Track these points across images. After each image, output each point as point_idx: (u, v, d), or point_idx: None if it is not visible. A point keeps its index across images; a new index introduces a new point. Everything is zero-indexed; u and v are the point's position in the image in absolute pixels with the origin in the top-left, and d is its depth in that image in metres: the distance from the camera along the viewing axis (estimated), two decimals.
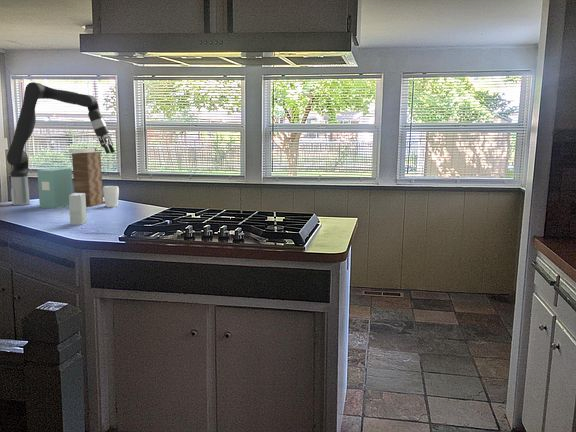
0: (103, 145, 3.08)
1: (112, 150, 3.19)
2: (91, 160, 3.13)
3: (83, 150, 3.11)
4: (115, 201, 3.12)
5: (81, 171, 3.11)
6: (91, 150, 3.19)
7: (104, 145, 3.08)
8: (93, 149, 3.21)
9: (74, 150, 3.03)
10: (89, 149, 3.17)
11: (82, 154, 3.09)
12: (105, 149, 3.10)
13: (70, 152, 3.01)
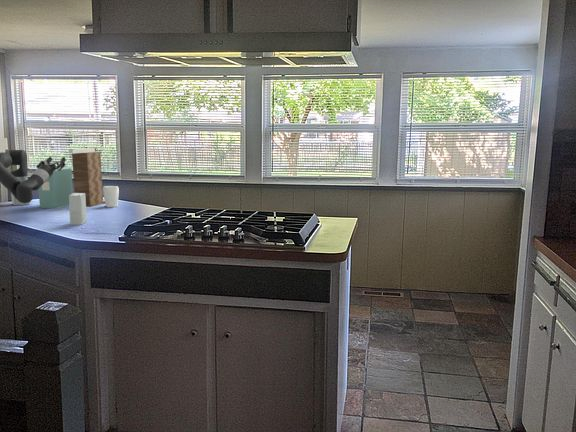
0: (64, 163, 2.85)
1: (50, 159, 2.90)
2: (91, 160, 3.13)
3: (83, 150, 3.11)
4: (115, 201, 3.12)
5: (81, 171, 3.11)
6: (91, 150, 3.19)
7: None
8: (93, 149, 3.21)
9: (74, 150, 3.03)
10: (89, 149, 3.17)
11: (82, 154, 3.09)
12: (64, 161, 2.88)
13: (70, 152, 3.01)
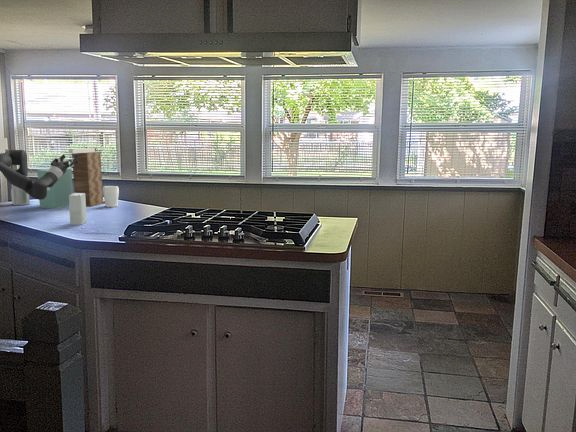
0: None
1: (63, 156, 3.00)
2: (91, 160, 3.13)
3: (83, 150, 3.11)
4: (115, 201, 3.12)
5: (81, 171, 3.11)
6: (91, 150, 3.19)
7: None
8: (93, 149, 3.21)
9: (74, 150, 3.03)
10: (89, 149, 3.17)
11: (82, 154, 3.09)
12: None
13: (70, 152, 3.01)
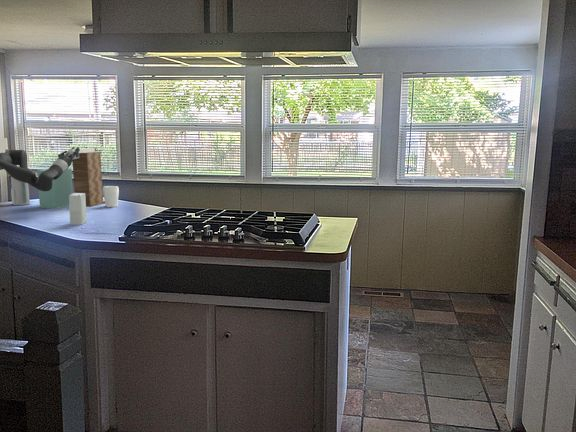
0: (78, 153, 3.02)
1: None
2: (91, 160, 3.13)
3: (83, 150, 3.11)
4: (115, 201, 3.12)
5: (81, 171, 3.11)
6: (91, 150, 3.19)
7: (78, 152, 3.02)
8: (93, 149, 3.21)
9: (74, 150, 3.03)
10: (89, 149, 3.17)
11: (82, 154, 3.09)
12: (78, 151, 3.04)
13: (70, 152, 3.01)
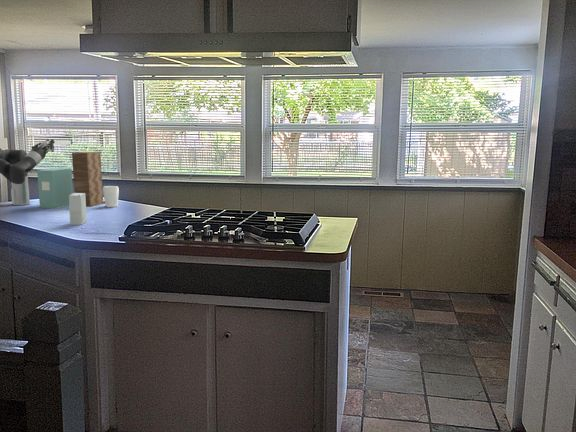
0: (53, 145, 2.93)
1: None
2: (91, 160, 3.13)
3: (58, 142, 3.02)
4: (115, 201, 3.12)
5: (81, 171, 3.11)
6: (67, 143, 3.10)
7: None
8: (69, 142, 3.12)
9: (48, 142, 2.94)
10: (64, 141, 3.08)
11: (82, 154, 3.09)
12: (52, 143, 2.96)
13: (44, 144, 2.93)
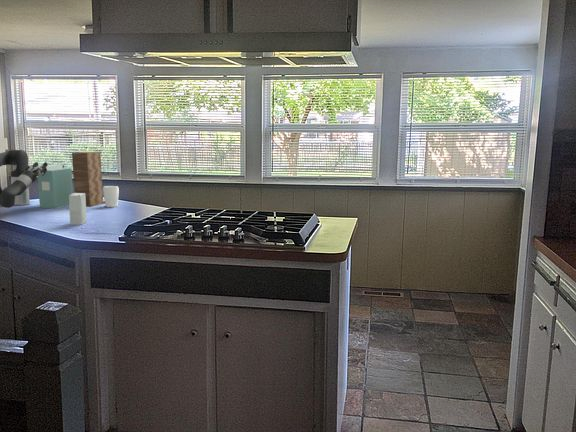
0: None
1: (36, 164, 3.01)
2: (91, 160, 3.13)
3: (49, 167, 3.06)
4: (115, 201, 3.12)
5: (81, 171, 3.11)
6: (58, 167, 3.14)
7: (45, 167, 2.96)
8: (61, 166, 3.16)
9: None
10: (56, 166, 3.12)
11: (82, 154, 3.09)
12: (45, 166, 2.99)
13: None
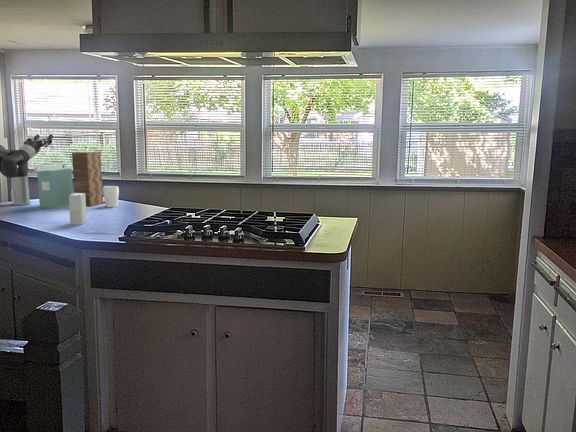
0: (51, 140, 2.83)
1: (37, 136, 2.88)
2: (91, 160, 3.13)
3: (49, 167, 3.06)
4: (115, 201, 3.12)
5: (81, 171, 3.11)
6: (58, 167, 3.14)
7: (51, 139, 2.83)
8: (61, 166, 3.16)
9: (39, 168, 2.98)
10: (56, 166, 3.12)
11: (82, 154, 3.09)
12: (51, 138, 2.85)
13: (35, 170, 2.97)
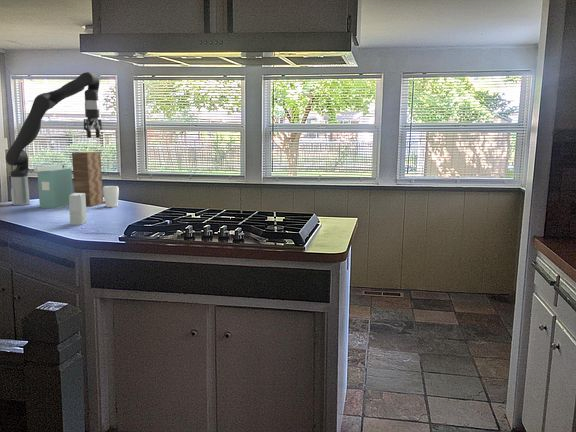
0: None
1: None
2: (91, 160, 3.13)
3: (49, 167, 3.06)
4: (115, 201, 3.12)
5: (81, 171, 3.11)
6: (58, 167, 3.14)
7: None
8: (61, 166, 3.16)
9: (39, 168, 2.98)
10: (56, 166, 3.12)
11: (82, 154, 3.09)
12: None
13: (35, 170, 2.97)
